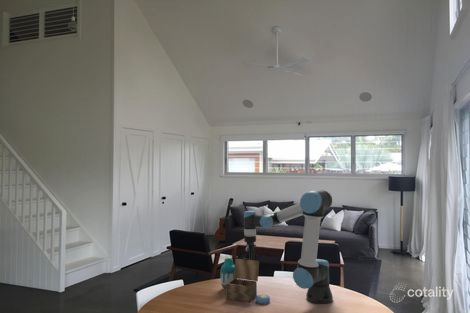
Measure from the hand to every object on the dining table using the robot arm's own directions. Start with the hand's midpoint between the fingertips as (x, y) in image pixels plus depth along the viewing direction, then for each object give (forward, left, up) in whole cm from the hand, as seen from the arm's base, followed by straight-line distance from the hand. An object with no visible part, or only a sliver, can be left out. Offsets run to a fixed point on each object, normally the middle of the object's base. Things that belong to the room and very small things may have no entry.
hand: (250, 272), depth 231 cm
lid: (0, +9, +4) cm, 10 cm away
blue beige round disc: (-14, +15, -11) cm, 24 cm away
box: (0, +14, -11) cm, 18 cm away
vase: (+14, +3, -11) cm, 18 cm away
